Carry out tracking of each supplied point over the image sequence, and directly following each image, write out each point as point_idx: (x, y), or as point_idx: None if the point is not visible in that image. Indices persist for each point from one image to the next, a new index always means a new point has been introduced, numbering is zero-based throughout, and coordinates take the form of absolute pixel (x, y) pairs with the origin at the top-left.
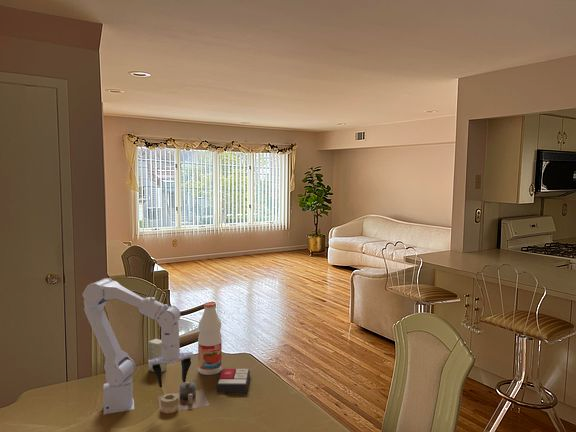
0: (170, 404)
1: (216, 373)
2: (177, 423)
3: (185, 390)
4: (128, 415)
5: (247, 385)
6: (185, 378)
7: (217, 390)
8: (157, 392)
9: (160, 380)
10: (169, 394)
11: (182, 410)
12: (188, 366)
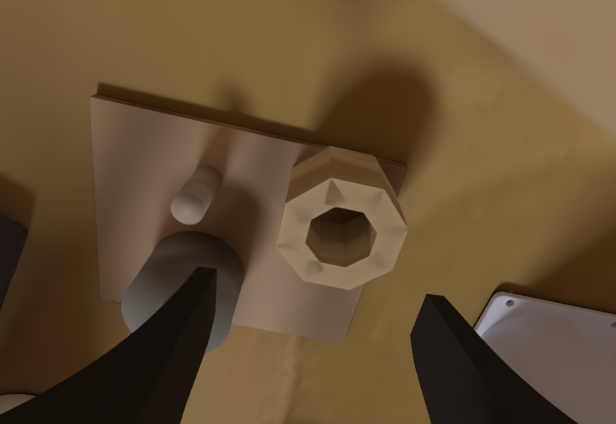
0: (355, 172)
1: (6, 394)
2: (356, 7)
3: None
4: (542, 262)
5: None
6: (184, 286)
7: (10, 237)
8: (322, 378)
9: (472, 345)
10: (325, 273)
11: (275, 137)
12: (63, 397)
